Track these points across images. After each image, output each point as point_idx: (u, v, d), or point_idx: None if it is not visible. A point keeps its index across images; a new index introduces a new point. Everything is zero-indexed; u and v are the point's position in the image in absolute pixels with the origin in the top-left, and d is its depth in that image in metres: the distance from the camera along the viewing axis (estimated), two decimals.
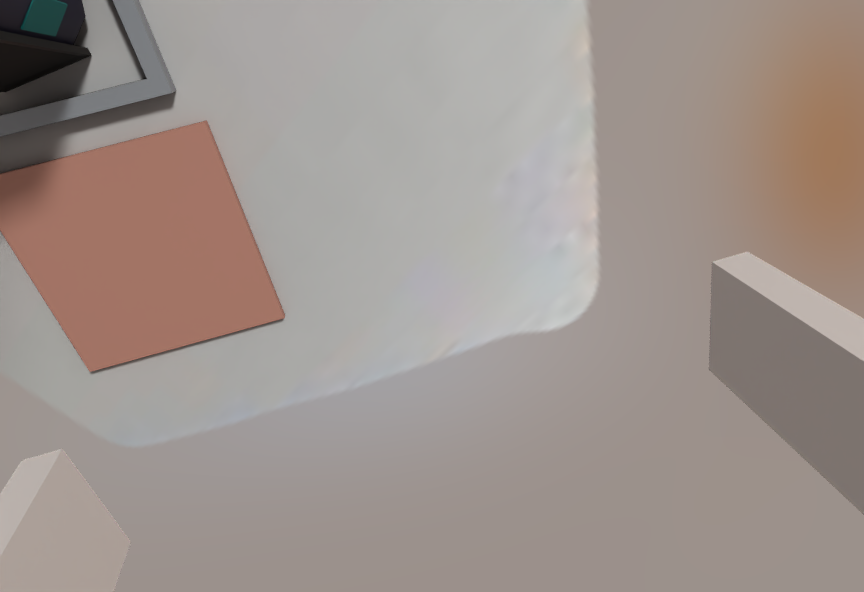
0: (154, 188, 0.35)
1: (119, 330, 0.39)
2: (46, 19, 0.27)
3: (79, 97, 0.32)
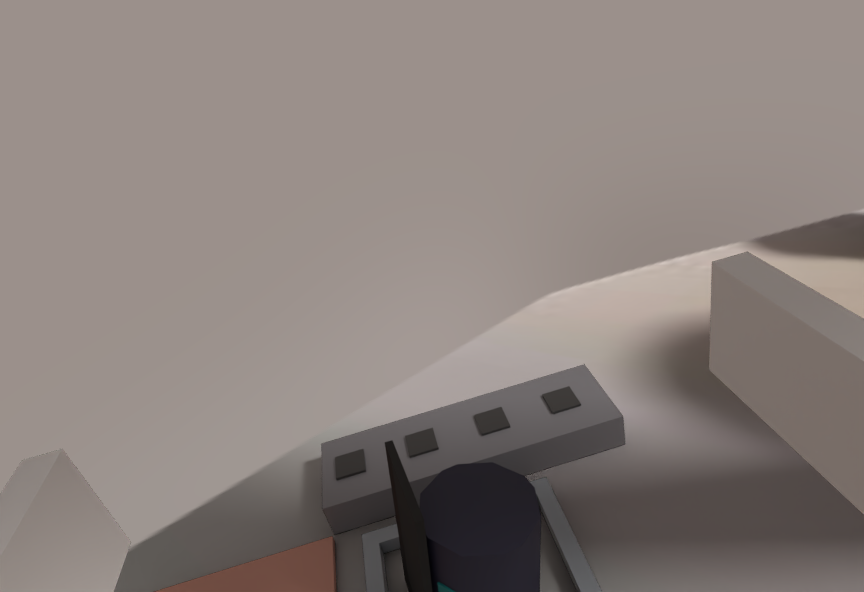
0: None
1: None
2: None
3: None
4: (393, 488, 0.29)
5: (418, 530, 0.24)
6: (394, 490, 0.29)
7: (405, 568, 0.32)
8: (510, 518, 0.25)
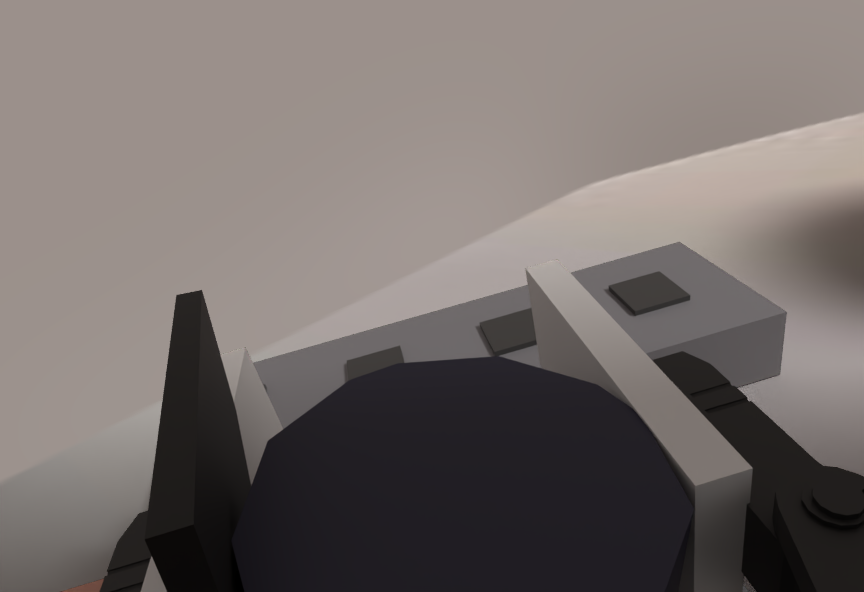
0: None
1: None
2: None
3: None
4: None
5: (175, 577, 0.05)
6: None
7: None
8: (578, 516, 0.07)
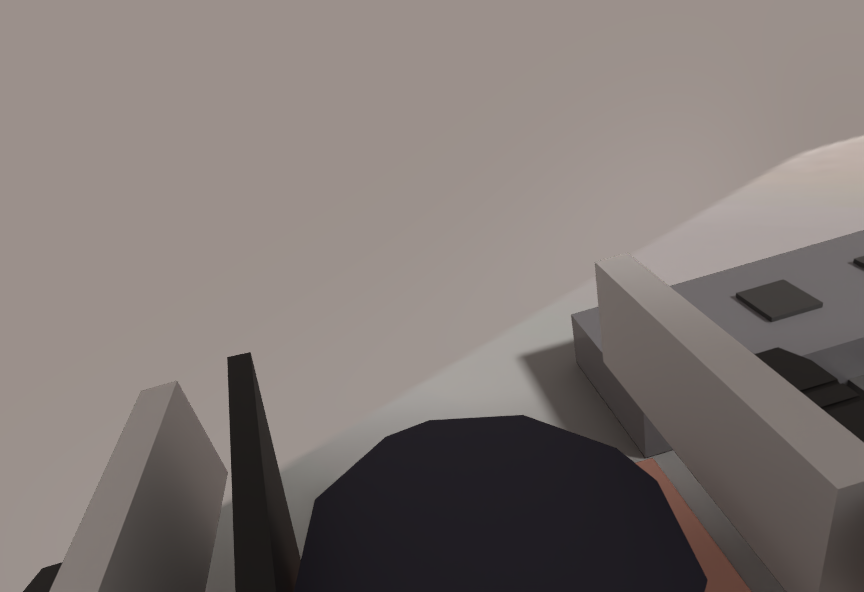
0: None
1: None
2: None
3: None
4: None
5: None
6: None
7: None
8: (603, 585, 0.07)
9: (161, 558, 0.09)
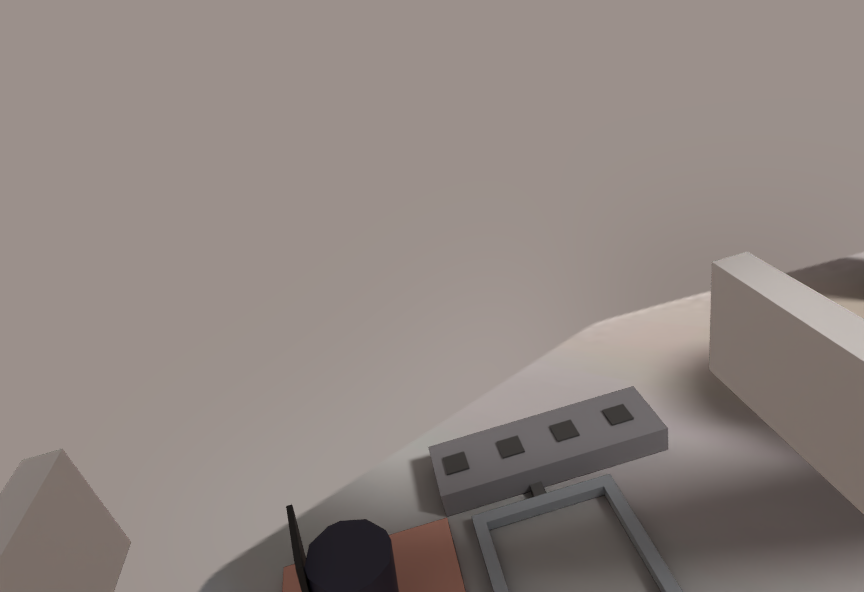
0: None
1: None
2: None
3: (507, 591, 0.40)
4: None
5: (298, 574, 0.34)
6: None
7: None
8: (368, 564, 0.36)
9: None
